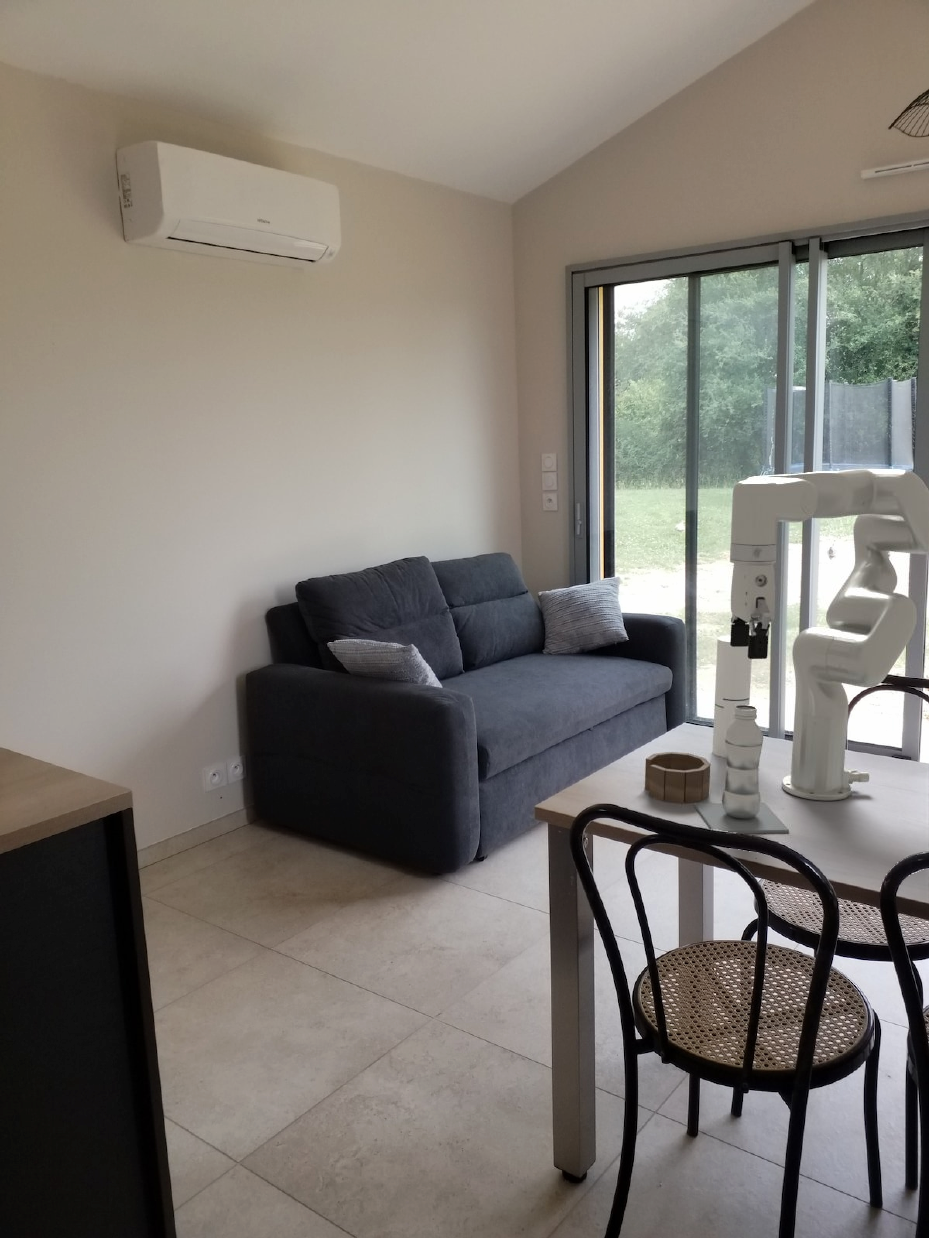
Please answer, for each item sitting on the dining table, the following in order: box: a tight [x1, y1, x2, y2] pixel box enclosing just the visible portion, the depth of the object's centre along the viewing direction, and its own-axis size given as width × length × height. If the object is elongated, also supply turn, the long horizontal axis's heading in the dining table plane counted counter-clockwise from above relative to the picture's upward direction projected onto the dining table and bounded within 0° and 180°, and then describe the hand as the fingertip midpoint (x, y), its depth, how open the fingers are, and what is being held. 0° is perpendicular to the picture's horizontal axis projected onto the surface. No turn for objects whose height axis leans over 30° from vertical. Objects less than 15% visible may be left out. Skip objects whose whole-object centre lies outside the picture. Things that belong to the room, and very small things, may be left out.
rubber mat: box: [693, 802, 790, 834], centre depth 178 cm, size 13×13×1 cm
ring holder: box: [644, 751, 711, 804], centre depth 191 cm, size 12×12×6 cm
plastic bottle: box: [721, 704, 764, 818], centre depth 177 cm, size 6×7×20 cm
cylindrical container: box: [712, 635, 753, 759], centre depth 213 cm, size 7×7×25 cm
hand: (748, 652), depth 173 cm, fingers open, 9 cm apart
